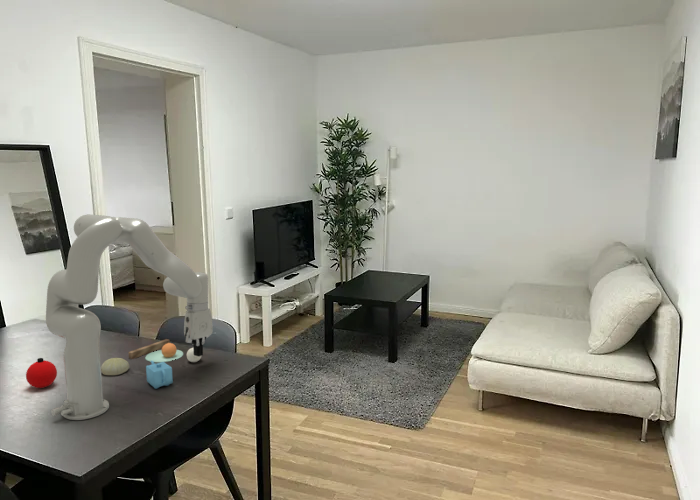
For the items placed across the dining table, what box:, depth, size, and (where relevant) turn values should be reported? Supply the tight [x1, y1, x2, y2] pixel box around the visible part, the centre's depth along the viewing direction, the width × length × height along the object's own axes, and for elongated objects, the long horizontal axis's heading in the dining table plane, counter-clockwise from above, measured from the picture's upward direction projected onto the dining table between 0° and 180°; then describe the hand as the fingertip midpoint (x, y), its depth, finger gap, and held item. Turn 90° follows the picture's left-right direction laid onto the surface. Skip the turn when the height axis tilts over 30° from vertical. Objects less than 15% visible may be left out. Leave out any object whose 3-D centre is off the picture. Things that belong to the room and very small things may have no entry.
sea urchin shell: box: [100, 357, 130, 376], centre depth 190 cm, size 9×8×8 cm
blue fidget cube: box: [145, 361, 174, 390], centre depth 180 cm, size 12×6×8 cm, turn 41°
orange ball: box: [161, 342, 177, 357], centre depth 205 cm, size 6×6×6 cm
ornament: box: [25, 357, 58, 389], centre depth 177 cm, size 9×9×10 cm
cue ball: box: [186, 347, 202, 363], centre depth 200 cm, size 6×6×6 cm
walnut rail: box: [127, 338, 171, 360], centre depth 211 cm, size 18×2×2 cm, turn 149°
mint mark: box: [144, 349, 184, 363], centre depth 207 cm, size 14×14×1 cm
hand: (198, 355), depth 195 cm, fingers closed
